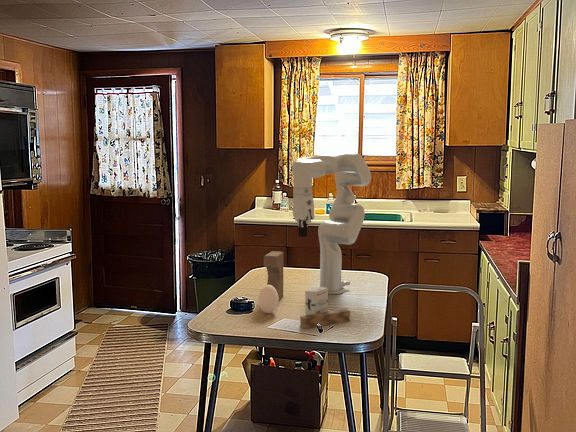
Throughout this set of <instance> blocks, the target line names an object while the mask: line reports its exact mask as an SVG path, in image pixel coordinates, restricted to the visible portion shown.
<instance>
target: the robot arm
mask: <svg viewBox="0 0 576 432" xmlns="http://www.w3.org/2000/svg"><path fill="white" fill-rule="evenodd" d="M291 171H292V176H293V177H292V179H293V181H292V183H293V186H292V187H293V190H292V191H293V198H292V217H293V218H294V221H295V222H297V227H298V237H300V238H306V237H308V226H309V225H310V224H311V223H312V221H313V220H315V204H314V203H315V202H314V198H313V197H314V196H313V179H319V178H322V177H324V176H325V175H332V174H334V181H335V182H334V183H335V188H336V196H335V199H334V201H333V203H332V206H331V208H330V211H329V214H328V215H329V216H328V217H329V220H327V221H322V222H321V223H320V225H318V228H317V229H318V230H317V232H318V233H317V234H318V242H319V251H320V254H319V257H320V258H319V260H320V261H319V262H320V263H319V265H320V266H319V285H318V287H324V288H328V295H340V294H343V293H344V292H345V290H346V289H345V286H350V285H351V281H350V280H347V281H346V280H342V263H343V262H342V260H343V258H342V255H343V254H342V250H341V247H340V245H353V244H355V242H356V241H357V239H358V236H359V234H360V231H361V229H362V226H363V223H364V221H365V216H366V215H365V214H366V213H365V208H364V207H363V205H361V204H359V203H354V202H355V195H354V192H353V190H352V189H351V188H350V186H351V187H367V186H369V184H370V183H371V182H372V181H371V180H372V174H371V170H370V168H369V166H368V164H367V163H366V161H365V159H364V158H363V157H362V155H361V154H360V153H358V152H352V151H351V152H349V151H343V152H342V151H339V152H338V151H337V152H334V153H329V154H322V155H315V156H306V157H300V158H297V159H295V160H294V161H293V163H292V166H291Z"/></svg>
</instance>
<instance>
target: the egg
mask: <svg viewBox="0 0 576 432" xmlns="http://www.w3.org/2000/svg"><path fill="white" fill-rule="evenodd" d="M279 301H280V300H279V297H278V293H277V291H276V289H275V288H274V287H273V286H271V285H267V284H266V285H264V286H263V287H262V288H261V290H260V291H259V295H258V301H257V302H258V306H259V309H260V310H261V311H262V312H263V313H265V314H273V312H275V311H276V310H277V308H278V306H279Z"/></svg>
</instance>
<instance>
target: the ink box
mask: <svg viewBox="0 0 576 432" xmlns="http://www.w3.org/2000/svg"><path fill="white" fill-rule="evenodd" d="M304 294H305V295H304V296H305V297H304V300H305V302H304V303H305V306H304V307H305V308H304V309H305V310H304V311H305V313H304V316H305V315H311V314H317V313H323V312H329V309H328V308H329V303H328V302H329V299H328V295H329V294H328V288H324V287H319V286H316V287H313V288H310V289H307V290H305V292H304Z"/></svg>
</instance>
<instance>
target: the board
mask: <svg viewBox="0 0 576 432" xmlns="http://www.w3.org/2000/svg"><path fill="white" fill-rule="evenodd" d="M299 319H300V320H299V321H300V325H299V327H300V328H302V329H303V330H307V329H308V330H309V329H313V328H318V327H317V324H318V323H319V324H320V325H322V326H321V327H325V326H330V325H335V324H340V323H346V322H350V321H351V311H350V310H349V309H347V308H340V309H335V310H331V311H330V310H328V312H323V313H317V314H311V315H305V314H304V315H301V316H300V318H299Z"/></svg>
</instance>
